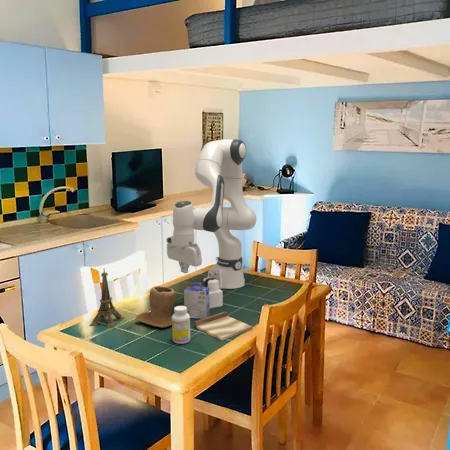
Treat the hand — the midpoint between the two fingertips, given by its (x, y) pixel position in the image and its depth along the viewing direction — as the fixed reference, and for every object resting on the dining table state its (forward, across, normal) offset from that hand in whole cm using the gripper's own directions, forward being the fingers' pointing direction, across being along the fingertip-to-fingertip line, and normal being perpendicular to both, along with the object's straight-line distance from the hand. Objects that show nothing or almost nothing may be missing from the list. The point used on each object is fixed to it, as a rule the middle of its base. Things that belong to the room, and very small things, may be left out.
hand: (184, 272), depth 212 cm
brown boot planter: (+18, -3, +15) cm, 24 cm away
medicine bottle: (+17, -2, -14) cm, 22 cm away
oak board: (+18, -24, -1) cm, 30 cm away
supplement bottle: (+18, -23, +18) cm, 34 cm away
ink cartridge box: (+18, -8, -1) cm, 19 cm away
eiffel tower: (+18, +12, +30) cm, 37 cm away
